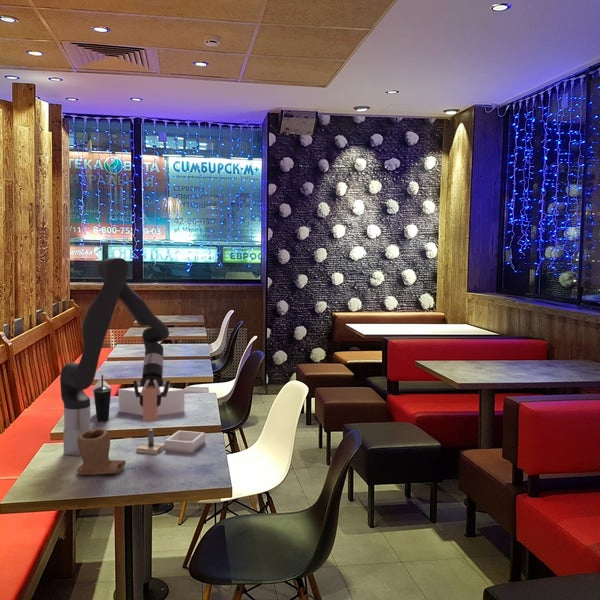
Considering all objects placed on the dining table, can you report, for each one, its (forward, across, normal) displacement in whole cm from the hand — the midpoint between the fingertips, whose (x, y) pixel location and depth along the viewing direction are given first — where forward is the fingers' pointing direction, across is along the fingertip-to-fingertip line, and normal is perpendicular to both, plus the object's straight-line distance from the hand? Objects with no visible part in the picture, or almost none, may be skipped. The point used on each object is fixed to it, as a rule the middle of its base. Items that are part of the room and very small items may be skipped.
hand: (150, 405), depth 242 cm
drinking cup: (-19, -24, +43) cm, 53 cm away
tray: (+9, +13, +16) cm, 22 cm away
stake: (+10, 0, +13) cm, 16 cm away
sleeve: (+3, 0, +5) cm, 6 cm away
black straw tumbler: (-27, -26, +52) cm, 64 cm away
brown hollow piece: (+28, -15, -2) cm, 31 cm away
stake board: (+11, 0, +14) cm, 18 cm away
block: (-28, -4, +53) cm, 60 cm away
